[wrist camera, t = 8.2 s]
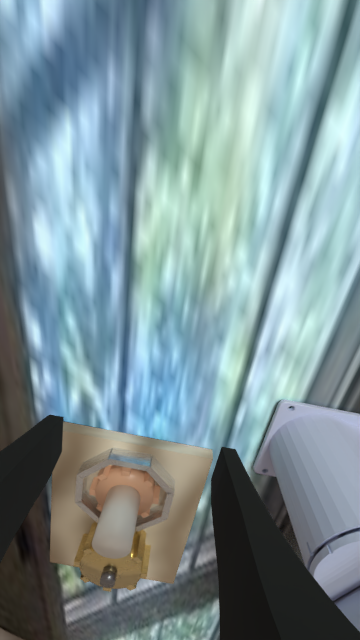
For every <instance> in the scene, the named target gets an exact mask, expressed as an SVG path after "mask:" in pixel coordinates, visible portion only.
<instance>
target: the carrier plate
mask: <svg viewBox="0 0 360 640" xmlns="http://www.w3.org/2000/svg"><path fill="white" fill-rule="evenodd" d="M113 447H114V448H120V449H125V450H130V451H136V452H141V453H146V454H152V455H153V456H154V457H155V458H156V459H157V460H158V461H159V462H160V464H161V465H162V466H163V467H164V468H165V469H166V470H167V471H168V472H169V474H170V475H171V476H172V477H173V478H174V479H175V491H174V497H173V500H172V504H171V508H170V512H169V516H168V519H167V520H165V521H162V522H160V523H158V524H155V525H153V526H150V527H148V528H145V529H143V530H144V531H145V532H146V539H145V543H146V545H151V549H150V557H149V565H148V572H147V577H146V579H149V580H155V581H160V582H166V583H172V584H173V583H174V579H175V576H176V573H177V570H178V567H179V564H180V561H181V557H182V554H183V551H184V548H185V545H186V542H187V539H188V535H189V532H190V529H191V526H192V523H193V520H194V517H195V513H196V510H197V507H198V504H199V501H200V498H201V495H202V491H203V488H204V485H205V482H206V479H207V476H208V473H209V469H210V466H211V463H212V460H213V454H212V449H206V448H201V447H196V446H190V445H185V444H180V443H175V442H169V441H164V440H159V439H153V438H148V437H143V436H137V435H132V434H127V433H121V432H116V431H111V430H105V429H100V428H95V427H89V426H84V425H79V424H74V423H68V422H63V439H62V453H61V455H60V457H59V459H58V461H57V464H56V466H55V468H54V470H53V472H52V501H51V539H50V562H53V563H58V564H64V565H70V566H74V560H75V557H76V554H77V551H78V548H79V545H80V543H81V540H82V537H83V534H89V531H90V528H91V525H92V523H94V522H95V521H94V520H93V519H92V518H91V517H90V516H89V515H88V514H87V513H86V512H84V511H83V510H82V509H81V508H80V507H79V506H78V505H77V504H76V502H75V491H76V477H77V474H78V471H79V469H80V467H81V465H82V463H83V462H85V461H87V460H89V459H91V458H92V457H94V456H96V455H98V454H100V453H102V452H104V451H106V450H108V449H110V448H113ZM152 455H151V456H152ZM111 466H112V465H111ZM99 471H100V470H98V471H96V472H94V473H92V474H90V475H88V477H87V488H86V489H87V490H88V491H89V489H90V487H91V484H92V481H93V479H94V477H97V476H98V474H99ZM154 483H155V485H156V486H160V485H159V484H158V483H157V482H156V481H155V480H154ZM165 493H166V492H165V491H164V489H163V488H162V487H161V486H160V494H159V502H158V504H152V505H151V508H153V507H156V506H158V505H160V504H163V501H164V497H165ZM93 496H94V495H93ZM94 497H95V496H94ZM95 498H96V497H95ZM151 508H150V509H151Z"/></svg>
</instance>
